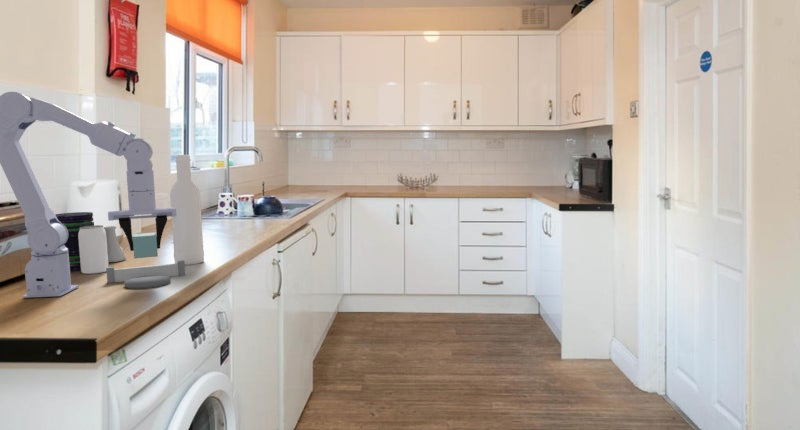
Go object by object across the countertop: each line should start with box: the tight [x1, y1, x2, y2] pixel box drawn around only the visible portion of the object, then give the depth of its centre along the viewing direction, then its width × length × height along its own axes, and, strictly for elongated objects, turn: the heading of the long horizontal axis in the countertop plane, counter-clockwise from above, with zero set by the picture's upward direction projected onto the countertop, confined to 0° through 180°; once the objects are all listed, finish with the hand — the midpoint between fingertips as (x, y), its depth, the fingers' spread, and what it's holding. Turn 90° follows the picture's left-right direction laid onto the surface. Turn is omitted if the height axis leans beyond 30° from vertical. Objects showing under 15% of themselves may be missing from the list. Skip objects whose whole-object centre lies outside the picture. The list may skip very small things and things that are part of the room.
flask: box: [103, 225, 127, 263], centre depth 175 cm, size 7×7×10 cm
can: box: [78, 224, 109, 275], centre depth 158 cm, size 6×6×12 cm
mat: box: [123, 275, 172, 290], centre depth 142 cm, size 10×10×1 cm
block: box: [132, 232, 159, 259], centre depth 141 cm, size 5×5×5 cm
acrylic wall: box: [106, 260, 186, 284], centre depth 148 cm, size 18×2×4 cm, turn 114°
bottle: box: [169, 154, 205, 266], centre depth 168 cm, size 8×8×30 cm
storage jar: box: [55, 211, 95, 273], centre depth 163 cm, size 10×10×15 cm
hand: (145, 249), depth 141 cm, fingers closed on block, 5 cm apart
